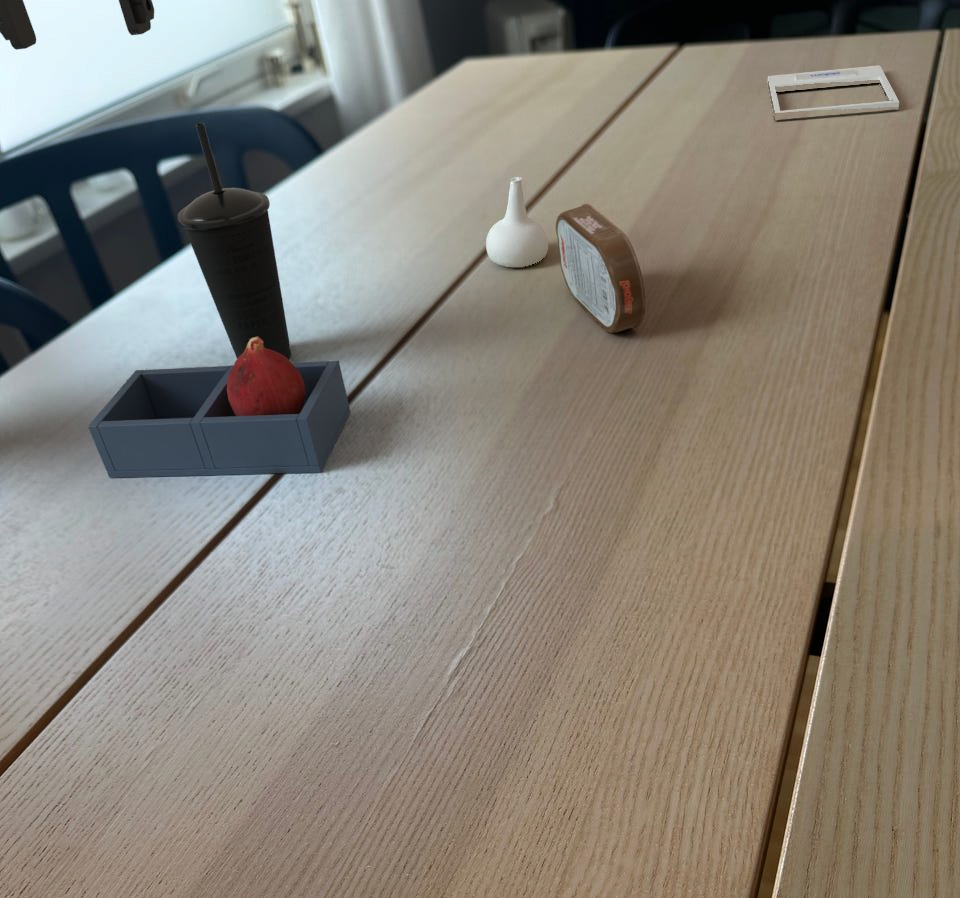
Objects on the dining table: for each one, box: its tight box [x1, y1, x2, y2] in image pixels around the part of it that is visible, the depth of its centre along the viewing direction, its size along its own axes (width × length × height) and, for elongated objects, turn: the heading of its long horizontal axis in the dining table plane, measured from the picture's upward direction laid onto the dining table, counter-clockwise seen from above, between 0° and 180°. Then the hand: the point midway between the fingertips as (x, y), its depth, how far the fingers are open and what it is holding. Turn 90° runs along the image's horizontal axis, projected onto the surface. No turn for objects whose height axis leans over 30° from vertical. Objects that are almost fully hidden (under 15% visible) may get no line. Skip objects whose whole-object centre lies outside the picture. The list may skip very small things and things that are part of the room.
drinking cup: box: [177, 122, 292, 361], centre depth 86 cm, size 8×8×20 cm
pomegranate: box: [227, 336, 306, 416], centre depth 78 cm, size 6×6×8 cm
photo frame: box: [767, 64, 900, 113], centre depth 132 cm, size 15×1×18 cm
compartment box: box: [87, 360, 351, 479], centre depth 80 cm, size 18×9×5 cm, turn 81°
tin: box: [555, 203, 646, 334], centre depth 89 cm, size 15×3×8 cm, turn 16°
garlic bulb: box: [485, 176, 549, 268], centre depth 101 cm, size 6×6×8 cm
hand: (82, 39), depth 68 cm, fingers open, 8 cm apart
